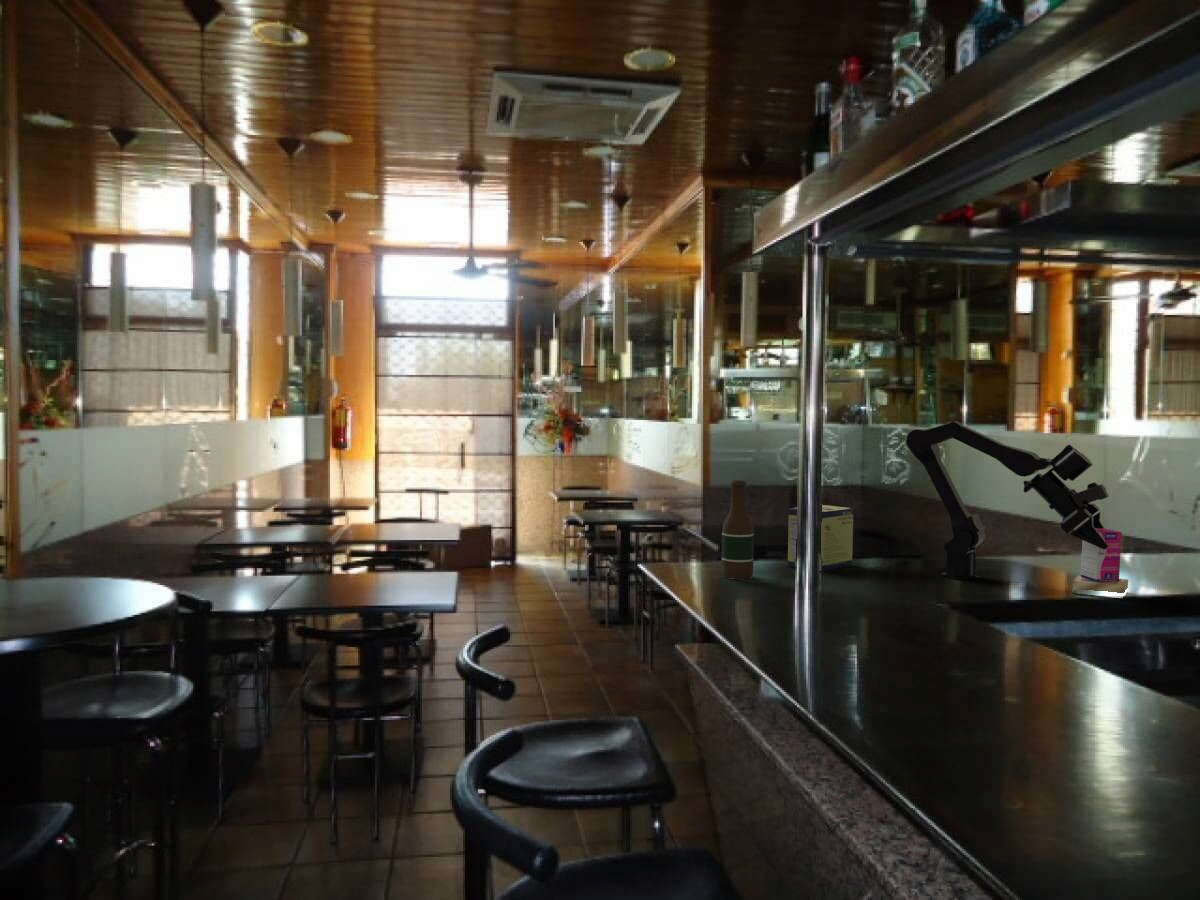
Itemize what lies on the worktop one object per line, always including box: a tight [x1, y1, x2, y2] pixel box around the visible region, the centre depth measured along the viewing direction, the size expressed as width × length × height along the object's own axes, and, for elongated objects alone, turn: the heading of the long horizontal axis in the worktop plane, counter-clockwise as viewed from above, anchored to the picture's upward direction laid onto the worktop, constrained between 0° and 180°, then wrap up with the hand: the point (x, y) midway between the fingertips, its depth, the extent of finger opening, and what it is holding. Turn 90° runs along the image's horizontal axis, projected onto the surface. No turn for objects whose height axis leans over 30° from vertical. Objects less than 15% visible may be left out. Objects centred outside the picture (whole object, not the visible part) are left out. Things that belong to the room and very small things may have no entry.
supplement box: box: [1080, 527, 1123, 581], centre depth 206 cm, size 6×6×12 cm
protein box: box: [787, 504, 854, 572], centre depth 239 cm, size 10×16×16 cm
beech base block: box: [1072, 574, 1129, 593], centre depth 206 cm, size 10×10×3 cm
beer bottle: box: [721, 479, 755, 580], centre depth 221 cm, size 8×8×24 cm
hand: (1108, 545), depth 205 cm, fingers open, 9 cm apart
